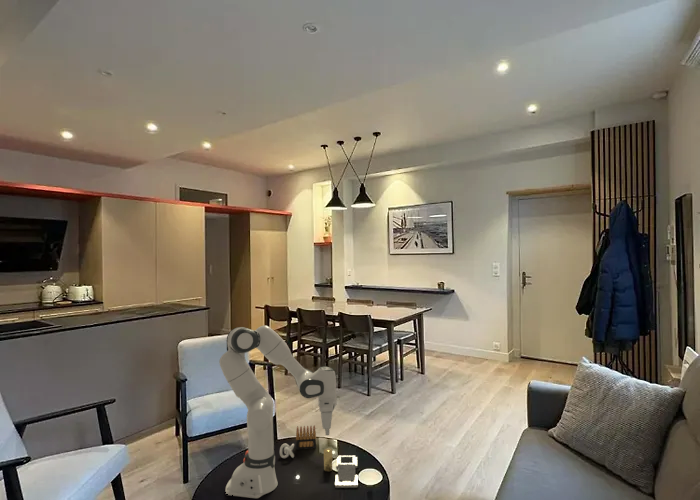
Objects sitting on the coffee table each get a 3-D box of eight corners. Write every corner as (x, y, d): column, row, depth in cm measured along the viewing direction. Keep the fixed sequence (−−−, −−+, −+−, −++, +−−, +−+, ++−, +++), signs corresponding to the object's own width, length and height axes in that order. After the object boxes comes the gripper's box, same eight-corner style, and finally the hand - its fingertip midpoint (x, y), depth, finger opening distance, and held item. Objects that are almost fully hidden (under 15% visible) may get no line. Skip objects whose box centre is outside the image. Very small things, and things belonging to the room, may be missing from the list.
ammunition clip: (316, 446, 213) (315, 424, 213) (316, 448, 211) (316, 425, 211) (296, 448, 211) (295, 425, 212) (295, 449, 210) (295, 427, 210)
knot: (286, 451, 208) (286, 439, 208) (299, 454, 205) (299, 443, 205) (277, 457, 202) (277, 446, 202) (290, 461, 198) (290, 449, 198)
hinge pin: (323, 471, 188) (323, 452, 188) (324, 467, 192) (324, 448, 192) (332, 471, 188) (331, 452, 188) (332, 467, 192) (332, 448, 192)
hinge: (335, 487, 175) (334, 474, 175) (337, 459, 199) (337, 447, 199) (357, 487, 175) (357, 473, 175) (357, 459, 199) (356, 447, 199)
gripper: (322, 393, 201) (323, 421, 201) (319, 409, 180) (319, 440, 180) (334, 393, 201) (335, 420, 201) (333, 409, 180) (333, 439, 180)
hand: (328, 430), depth 190 cm, fingers open, 8 cm apart
